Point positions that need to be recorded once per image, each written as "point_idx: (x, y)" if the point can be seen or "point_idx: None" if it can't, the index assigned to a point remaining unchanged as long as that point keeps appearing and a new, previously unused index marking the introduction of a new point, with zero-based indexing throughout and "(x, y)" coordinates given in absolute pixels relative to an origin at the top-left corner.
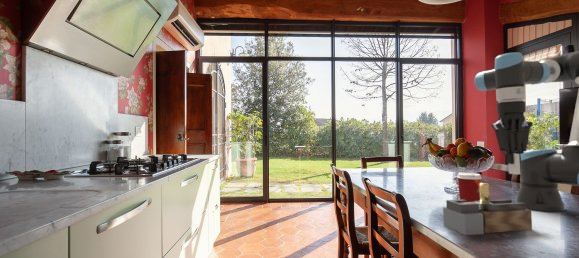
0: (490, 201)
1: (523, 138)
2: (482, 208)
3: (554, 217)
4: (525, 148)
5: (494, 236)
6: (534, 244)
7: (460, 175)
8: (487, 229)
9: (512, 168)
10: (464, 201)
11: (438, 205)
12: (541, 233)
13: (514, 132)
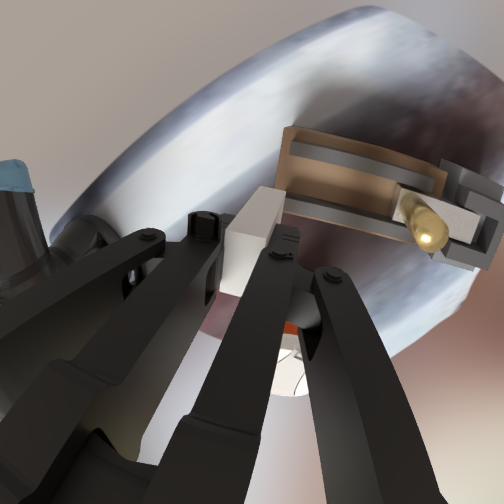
0: (367, 217)
1: (80, 305)
2: (431, 195)
3: (133, 186)
4: (138, 237)
5: (434, 134)
6: (402, 58)
7: None
8: (425, 161)
9: (278, 223)
10: (455, 243)
11: None
12: (300, 96)
13: (127, 417)
